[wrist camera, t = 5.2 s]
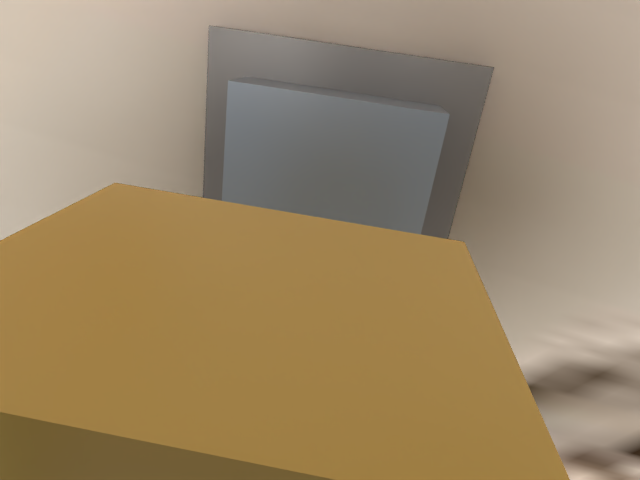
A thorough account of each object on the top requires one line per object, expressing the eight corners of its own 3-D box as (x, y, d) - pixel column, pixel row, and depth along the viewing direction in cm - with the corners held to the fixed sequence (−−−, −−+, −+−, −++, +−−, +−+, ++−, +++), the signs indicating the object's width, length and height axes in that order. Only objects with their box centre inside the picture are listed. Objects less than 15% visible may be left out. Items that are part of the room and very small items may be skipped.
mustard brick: (127, 438, 9) (-72, 745, 5) (115, 182, 7) (-242, 362, 3) (392, 492, 9) (403, 863, 5) (464, 241, 7) (591, 531, 3)
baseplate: (205, 268, 20) (178, 302, 18) (214, 26, 17) (182, 21, 14) (425, 307, 20) (434, 348, 17) (489, 67, 16) (513, 69, 13)
